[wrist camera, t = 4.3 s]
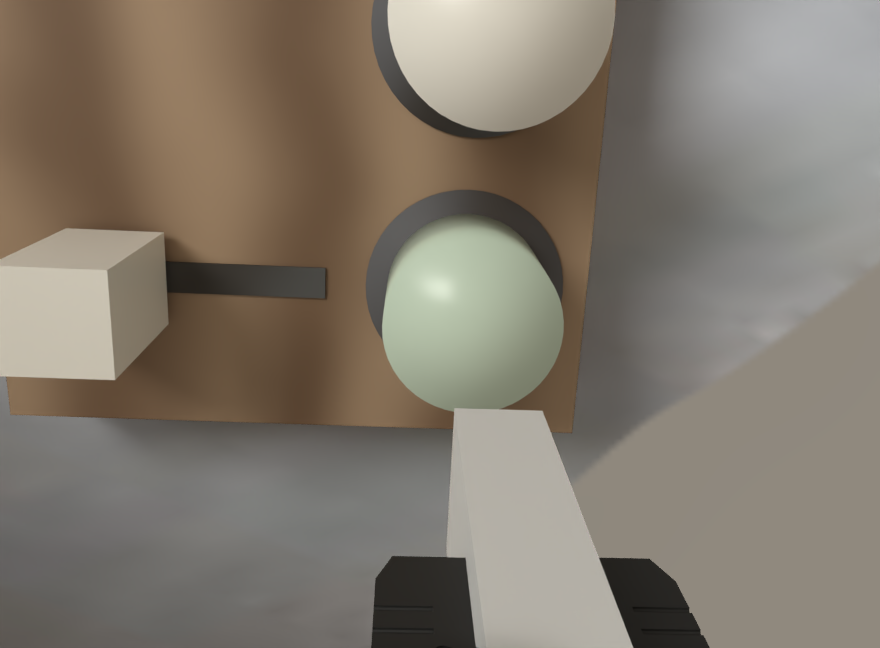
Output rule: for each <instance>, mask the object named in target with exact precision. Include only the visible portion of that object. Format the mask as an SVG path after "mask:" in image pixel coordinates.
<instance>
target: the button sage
mask: <svg viewBox="0 0 880 648" xmlns="http://www.w3.org/2000/svg"><path fill="white" fill-rule="evenodd" d="M563 332H564V319H563V310H562V306H561V302H560V299H559V296H558V294H557V291H556V289H555V287H554V285H553V284H552V282H551V280H550V278H549V277H548V275H547V274H546V272H545V270H544V269H543V267H542V265H541V264H540V262H539V261H538V259H537V257H536V256H535V254H534V252H533V251H532V249H531V248H530V246H529V245H528V244H527V242H526V241H525V240H524V239H523V238H522V237H521V236H520V235H519V234H518V233H517V232H516V231H514V230H513V229H512V228H510V227H509V226H507V225H505V224H504V223H502V222H500V221H498V220H495V219H492V218H490V217H486V216H481V215H474V214H458V215H451V216H447V217H443V218H440V219H437V220H435V221H433V222H430V223H428V224H427V225H425V226H423V227H422V228H420V229H419V230H417V231H416V232H415V233H414V234H412V235H411V236H410V237H409V239H408V240H407V241H406V242H405V243H404V244H403V246H402V247H401V248H400V250H399V251H398V253H397V255H396V257H395V258H394V261H393V263H392V266H391V268H390V272H389V276H388V282H387V290H386V297H385V305H384V312H383V321H382V337H383V343H384V349H385V352H386V355H387V358H388V360H389V362H390V364H391V367H392V369H393V370H394V372H395V373H396V375H397V376H398V378H399V379H400V380H401V381H402V383H403V384H404V385H405V386H406V387H407V388H408V389H409V390H410V391H411V392H413V393H414V394H415V395H416V396H418V397H419V398H421V399H422V400H424V401H425V402H427V403H429V404H431V405H433V406H436V407H439V408H441V409H444V410H448V411H453V412H454V408H467V409H501V408H504V407H506V406H509V405H511V404H513V403H515V402H517V401H519V400H521V399H522V398H524V397H525V396H527V395H528V394H529V393H531V392H532V391H533V390H534V389H535V388H536V387H537V386H538V385H539V384H540V383H541V382H542V381H543V380H544V379H545V377H546V376H547V375H548V373H549V372H550V370H551V368H552V367H553V365H554V363H555V361H556V359H557V357H558V354H559V351H560V348H561V344H562V339H563Z"/></svg>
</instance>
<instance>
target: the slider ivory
mask: <svg viewBox="0 0 880 648" xmlns="http://www.w3.org/2000/svg"><path fill="white" fill-rule="evenodd" d="M168 324H169V322H168V303H167V283H166V264H165V244H164V232H144V231H120V230H96V229H71V228H66V229H64V230H61V231H59V232H57V233H55V234H53V235H51V236H49V237H47V238H44V239H42V240H40V241H38V242H36V243H34V244H32V245H30V246H27V247H25V248H23V249H21V250H19V251H17V252H15V253H13V254H10V255H8V256H6V257H4V258H2V259H0V376H8V377H37V378H66V379H95V380H116V379H117V378H118V377H119V376H120V375H121V374H122V372H123V371H124V370H125V369H126V368H127V367H128V366H129V365H130V364H131V363H132V362H133V361H134V360H135V359H136V358H137V357H138V356H139V355H140V354H141V353H142V351H143V350H144V349H145V348H146V347H147V346H148V345H149V344H150V343H151V342H152V341H153V340H154V339H155V338H156V337H157V336H158V335H159V334H160V333H161V332H162V330H163V329H164V328H165V327H166V326H167V325H168Z"/></svg>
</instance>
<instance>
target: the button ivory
mask: <svg viewBox="0 0 880 648" xmlns="http://www.w3.org/2000/svg"><path fill="white" fill-rule="evenodd" d="M387 10H388V28H389V34H390V41H391V44H392V47H393V51H394V54H395V57H396V59H397V62H398V64H399V66H400V69H401V71H402V72H403V74H404V76H405V77H406V79H407V81H408V83H409V84H410V85H411V86H412V88H413V89H414V90H415V92H416V93H417V94H418V95H419V96H420V97H421V98H422V99H423V100H424V101H425V102H426V103H427V104H428V105H429V106H430V107H432V108H433V109H434V110H436V111H437V112H438V113H439V114H441V115H443V116H445V117H446V118H448V119H450V120H452V121H454V122H456V123H459V124H461V125H464V126H466V127H470V128H474V129H478V130H484V131H493V132H502V131H514V130H520V129H525V128H528V127H532V126H535V125H538V124H540V123H542V122H545V121H547V120H549V119H551V118H553V117H554V116H556V115H558V114H559V113H561V112H562V111H564V110H565V109H566V108H567V107H569V106H570V105H571V104H572V103H574V102H575V101H576V100H577V99H578V98H579V97H580V96H581V95H582V94H583V93H584V92H585V90H586V89H587V88H588V86H589V85H590V84H591V82H592V81H593V80H594V78H595V76H596V75H597V73H598V71H599V70H600V68H601V66H602V64H603V62H604V59H605V57H606V55H607V52H608V49H609V46H610V42H611V39H612V35H613V29H614V23H615V0H388V9H387Z"/></svg>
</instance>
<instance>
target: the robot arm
mask: <svg viewBox="0 0 880 648" xmlns="http://www.w3.org/2000/svg"><path fill="white" fill-rule="evenodd" d="M446 550H447V557H407V556H392V557H391V559H390V560H389V561H388V563H387V564H386V565H385V567H384V568H383V569H382V571H381V572H380V573H379V575H378V576H377V577H376V581H375V598H374V614H373V632H372V646H371V648H709V646H708V644H707V642H706V640H705V638H704V636H703V635H701V634H700V628H699V626H698V624H697V622H696V620H695V618H694V616H693V614H692V613H689V607H688V605H687V603H686V601H685V599H684V597H683V595H682V593H681V591H680V589H679V587H678V585H677V583H676V581H674V580H673V579H672V578H671V577H670V576H669V575H667V574H666V573H665V572H664V571H663V570H662V569H661V568H659V567H658V566H657V565H656V564H655V563H654V562H652V561H651V560H650V559H633V558H599V557H598V554H597V552H596V549H595V547H594V544H593V541H592V539H591V536H590V534H589V531H588V529H587V526H586V523H585V521H584V518H583V516H582V513H581V510H580V508H579V505H578V502H577V500H576V497H575V494H574V492H573V489H572V487H571V484H570V481H569V479H568V476H567V473H566V471H565V468H564V466H563V463H562V460H561V458H560V455H559V453H558V450H557V447H556V445H555V442H554V440H553V437H552V434H551V432H550V429H549V427H548V424H547V421H546V419H545V416H544V413H543V411H535V410H501V409H467V408H454V425H453V442H452V460H451V477H450V495H449V513H448V530H447V548H446Z"/></svg>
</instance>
